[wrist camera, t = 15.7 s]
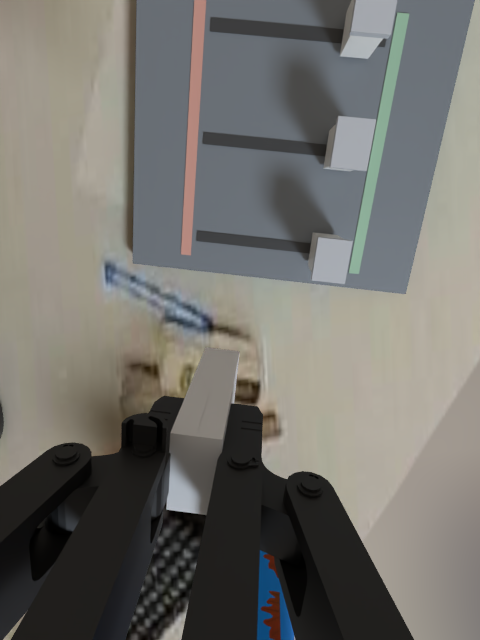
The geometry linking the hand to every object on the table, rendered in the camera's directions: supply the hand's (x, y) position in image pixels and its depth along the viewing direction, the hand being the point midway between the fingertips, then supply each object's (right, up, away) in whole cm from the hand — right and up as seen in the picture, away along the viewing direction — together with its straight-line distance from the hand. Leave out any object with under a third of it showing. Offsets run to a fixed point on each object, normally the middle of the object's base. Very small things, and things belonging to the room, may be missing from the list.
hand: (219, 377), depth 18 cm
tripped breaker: (+10, +18, +19) cm, 28 cm away
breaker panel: (+5, +19, +21) cm, 29 cm away
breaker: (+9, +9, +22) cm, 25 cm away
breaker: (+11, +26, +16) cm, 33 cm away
